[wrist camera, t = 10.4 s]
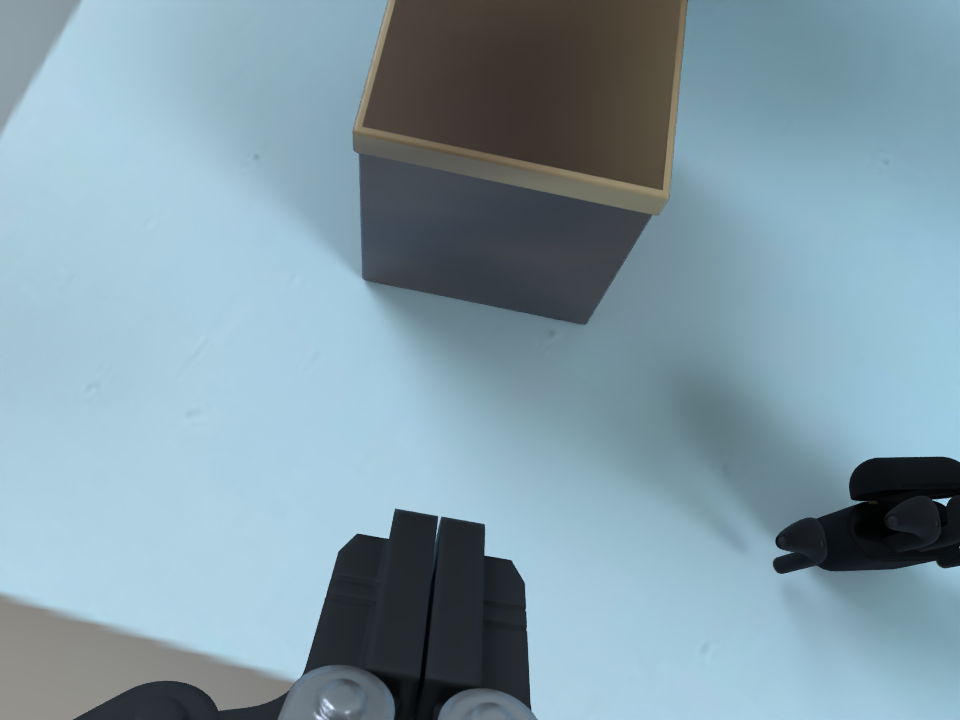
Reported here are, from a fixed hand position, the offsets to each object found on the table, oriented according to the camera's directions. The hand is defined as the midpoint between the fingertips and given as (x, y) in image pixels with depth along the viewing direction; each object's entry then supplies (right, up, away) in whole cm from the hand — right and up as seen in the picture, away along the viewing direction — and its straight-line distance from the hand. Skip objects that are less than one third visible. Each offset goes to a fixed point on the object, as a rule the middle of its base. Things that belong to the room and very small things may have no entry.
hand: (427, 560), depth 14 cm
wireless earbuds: (+11, -2, +11) cm, 16 cm away
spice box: (+1, +9, +13) cm, 16 cm away
